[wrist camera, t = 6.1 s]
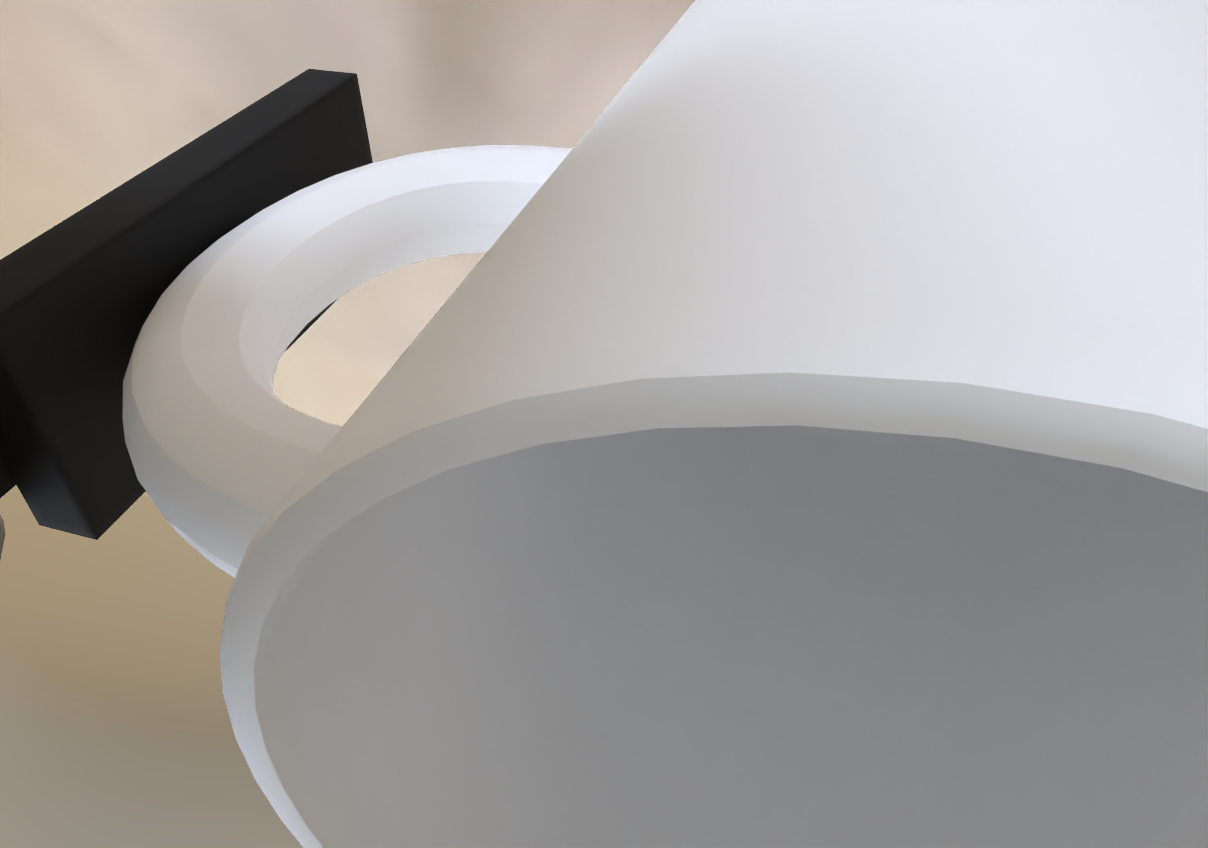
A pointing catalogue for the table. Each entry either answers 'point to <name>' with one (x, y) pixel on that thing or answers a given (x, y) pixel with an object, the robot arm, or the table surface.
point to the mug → (736, 453)
